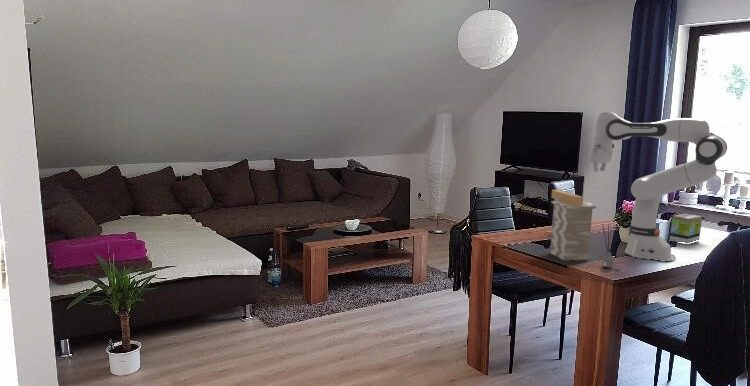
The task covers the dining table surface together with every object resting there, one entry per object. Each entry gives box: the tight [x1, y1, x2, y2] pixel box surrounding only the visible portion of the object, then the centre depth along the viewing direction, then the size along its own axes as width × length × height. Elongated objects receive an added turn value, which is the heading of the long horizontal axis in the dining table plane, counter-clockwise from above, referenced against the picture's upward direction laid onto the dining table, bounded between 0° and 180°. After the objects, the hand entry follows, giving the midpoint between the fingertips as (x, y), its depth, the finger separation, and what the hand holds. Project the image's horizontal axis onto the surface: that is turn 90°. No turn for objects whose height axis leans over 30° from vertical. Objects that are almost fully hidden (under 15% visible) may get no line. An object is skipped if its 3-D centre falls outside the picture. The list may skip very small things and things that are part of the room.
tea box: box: [669, 213, 703, 243], centre depth 305 cm, size 15×10×15 cm
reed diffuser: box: [601, 223, 621, 271], centre depth 250 cm, size 10×7×20 cm
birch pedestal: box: [549, 200, 597, 262], centre depth 268 cm, size 16×14×26 cm
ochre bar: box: [550, 189, 584, 205], centre depth 271 cm, size 22×4×4 cm, turn 11°
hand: (598, 171), depth 285 cm, fingers open, 8 cm apart
